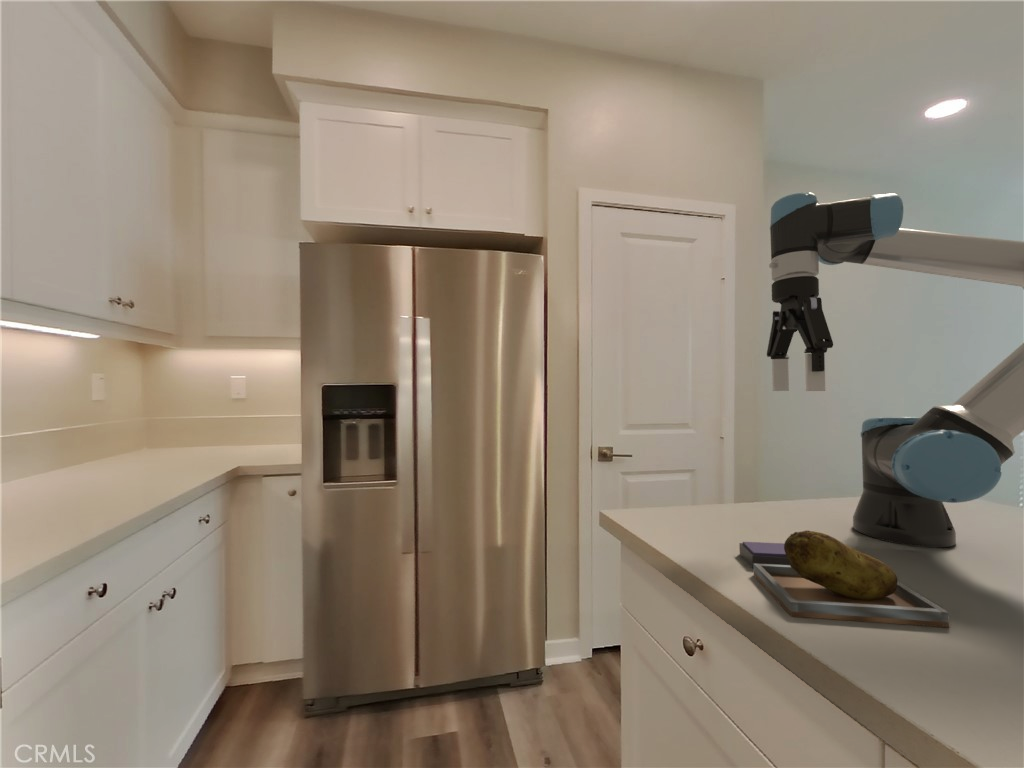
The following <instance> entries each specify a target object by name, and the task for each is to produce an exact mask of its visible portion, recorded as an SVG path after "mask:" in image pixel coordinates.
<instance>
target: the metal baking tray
mask: <svg viewBox="0 0 1024 768" xmlns="http://www.w3.org/2000/svg"><path fill="white" fill-rule="evenodd" d="M753 567H754V568H753V576H754V577H755V578H756V579H757V580H758V581H759V583H760V584H761V585H763V587H764V588H765V590H767V591H768V592H769V594H770V595H771V596H772V597H773V598H774V599H775V600H776V601H777V602H778V603H779V605H780V606H781V607H782V608H783V609H784V610H785V611H786V612H787V613H788V615H790V617H795V618H797V617H798V618H811V619H812V618H813V619H824V620H839V621H840V620H841V621H852V622H853V621H855V622H870V623H883V624H896V625H897V624H898V625H910V626H911V625H912V626H924V627H926V626H927V627H938V628H939V627H940V628H941V627H942V628H950V613H949V611H947V609H944V608H942V607H941V606H939V605H938V604H936V603H934V602H933V601H931V600H929V599H927V598H926V597H925V596H922V595H921V594H920V593H918V592H916V591H915V590H913V589H911V588H910V587H908V586H906V585H905V584H903V583H901V582H900V581H898V580H897V589H896V591H895V592H894V593H893V594H891V595H889V596H886V597H883V598H879V599H870V600H861V599H853V598H848V597H844V596H841V595H838V594H836V593H833V592H831V591H830V590H828V589H826V588H825V587H823V586H821V585H819V584H816V583H814V582H811V581H809V580H806V579H804V578H802V577H801V575H799V574H798V573H797V572H796V571H795V570H794V569H793V568H791V566H790V565H775V564H756V563H753Z"/></svg>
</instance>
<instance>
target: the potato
mask: <svg viewBox="0 0 1024 768" xmlns="http://www.w3.org/2000/svg"><path fill="white" fill-rule="evenodd" d="M784 550H785V553H786V555H787V557H788V560H789V565H790V566H791V568H793V569H794V570H795V571H796V572H797V573H798V574H799V575H801V577H802V578H804V579H806V580H809V581H811V582H814V583H816V584H819V585H821V586H823V587H825V588H826V589H828V590H830V591H831V592H833V593H836V594H838V595H841V596H844V597H848V598H853V599H861V600H870V599H879V598H883V597H886V596H889V595H891V594H893V593H894V592H895V591H896V589H897V581H898V576H897V574H896V572H895V571H894V570H893V569H892V568H891V567H890V566H889V565H888V564H886V563H885V562H883V561H881V560H880V559H877V558H875V557H873V556H871V555H868V554H866V553H864V552H861V551H859V550H856V549H855V548H853V547H850V546H848V545H847V544H844V543H843V542H841V541H840V540H839V539H837V538H836V537H833V536H831V535H828V534H825V533H822V532H818V531H811V530H802V531H795V532H793V533H790V535H789V536H788V537H786V539H785V541H784Z"/></svg>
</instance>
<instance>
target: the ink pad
mask: <svg viewBox="0 0 1024 768" xmlns="http://www.w3.org/2000/svg"><path fill="white" fill-rule="evenodd" d="M784 544H785V542H784V543H783V542H780V543H779V542H759V541H758V542H756V541H742V542H740V543H739V555H740V557H742V559H743V560H744V561H745V562H746V563H747V564H748V565H749V566H750V567H751V568H752V569H754V567H753V563H756V564H775V565H789V560H788V557H787V555H786V553H785V550H784Z"/></svg>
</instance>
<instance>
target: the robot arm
mask: <svg viewBox="0 0 1024 768" xmlns="http://www.w3.org/2000/svg"><path fill="white" fill-rule="evenodd" d="M903 219H904V202H903V200H902V198H901V196H900V195H899V194H896V193H886V194H885V193H884V194H872V195H870V196H863V197H856V198H852V199H850V198H849V199H845V200H839V201H832V202H822V203H819V201H818V197H817V195H816V194H815V193H813V192H796V193H791V194H789V195H786V196H783V197H781V198H779V199H777V201H775V202H774V203H773V204H772V206H771V208H770V223H769V224H770V226H769V232H770V256H771V257H770V261H771V262H770V263H769V264H768V266H769V268H770V269H771V280H772V281H773V283H772V284H771V301H772V302H773V303H776V304H780V310H773V312H772V321H771V322H772V323H771V327H770V334H769V340H768V345H767V350H766V356H767V358H770V359H771V363H772V365H771V366H772V367H771V369H772V370H771V371H772V391H773V392H783V391H784V392H786V391H787V392H789V389H790V388H789V386H790V385H789V384H790V383H789V380H790V379H789V359H790V357H789V355H788V351H789V348H790V345H791V343H792V339H793V337H794V334H795V333H796V332H798V333H799V335H800V338H801V339H802V342H803V343H804V346H805V347H806V348H805V350H804V351H803V353H804V354H805V355H804V357H805V361H804V363H805V364H804V365H805V391H806V392H825V391H826V368H825V367H826V364H825V363H826V362H825V360H826V359H825V358H826V357H825V355H826V354H825V353H827V352H828V349H832V348H833V347H834V341H833V338H832V335H831V333H830V330H829V326H828V323H827V320H826V316H825V314H824V311H823V303H822V301H823V300H822V298H821V297H820V288H819V287H820V284H819V280H820V279H819V278H818V277H817V276H818V275H819V274H820V273H819V269H820V268H819V267H820V265H819V262H820V263H822V264H823V265H827V266H835V265H840V264H844V263H851V264H860V265H867V266H871V267H872V266H873V267H880V268H887V269H894V270H902V271H909V272H915V273H922V274H923V273H924V274H930V275H938V276H944V277H945V276H946V277H950V278H952V277H953V278H959V279H966V280H972V281H979V282H984V283H985V282H987V283H994V284H1000V285H1008V286H1015V287H1022V289H1023V290H1024V241H1023V240H1022V241H1021V240H1011V239H1002V238H993V237H984V236H975V235H968V234H966V235H965V234H956V233H948V232H946V233H945V232H939V231H930V230H929V231H928V230H920V229H910V228H902V227H901V226H902V222H903ZM1022 432H1024V342H1023V343H1022V344H1021V345H1020V346H1019V347H1017V348H1016V349H1015V350H1014V351H1012V352H1011V353H1010V354H1009V355H1008V356H1007V357H1006V358H1004V359H1003V360H1002V361H1001V362H999V364H997V365H996V366H995V367H994V368H993V369H992V370H991V371H989V372H988V373H987V374H986V375H985V376H984V377H982V378H981V379H980V380H979V381H978V382H977V383H976V384H974V385H973V386H972V387H971V388H970V389H969V390H967V391H966V392H965V393H964V394H962V395H961V396H960V397H959V398H958V399H957V400H956V401H955V402H953V403H952V404H950V405H936V406H933V407H931V408H930V409H929V410H928V411H927V412H926V413H925V414H923V415H922V416H919V417H918V416H917V417H916V416H887V417H872V418H867V419H865V420H864V421H862V424H861V432H860V438H861V458H862V461H861V462H862V464H861V465H862V493H861V495H860V498H859V500H858V504H857V506H856V508H855V510H854V513H853V516H852V527H853V529H854V530H855V531H857V532H858V533H861V534H863V535H866V536H868V537H871V538H874V539H878V540H882V541H887V542H890V543H895V544H899V545H900V544H901V545H906V546H914V547H924V548H947V547H948V548H949V547H953V546H955V545H956V543H957V538H956V537H957V536H956V534H957V533H956V530H955V527H954V525H953V523H952V521H951V518H950V516H949V513H948V511H947V509H946V507H945V504H944V503H951V504H953V503H954V504H955V503H956V504H957V503H964V502H965V503H966V502H970V501H971V502H972V501H974V500H978V499H980V498H982V497H984V496H986V495H987V494H989V493H990V492H991V491H992V490H993V489H995V487H996V486H997V485H998V483H999V482H1000V480H1001V477H1002V473H1003V472H1001V470H1002V469H1001V468H1002V465H1003V464H1004V463H1005V462H1007V460H1009V459H1011V457H1013V456H1014V454H1015V453H1016V451H1015V448H1014V447H1015V446H1014V443H1013V441H1014V439H1015V438H1016V437H1018V436H1019V435H1020V434H1021V433H1022Z"/></svg>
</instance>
